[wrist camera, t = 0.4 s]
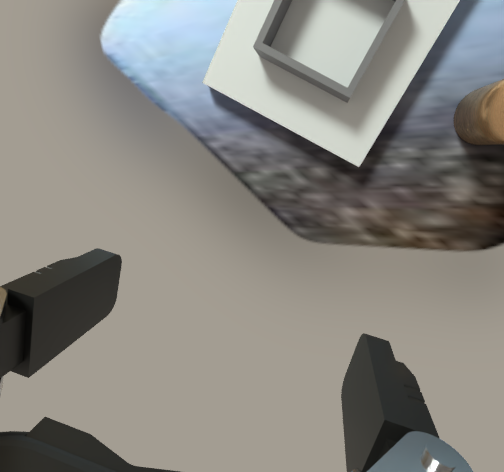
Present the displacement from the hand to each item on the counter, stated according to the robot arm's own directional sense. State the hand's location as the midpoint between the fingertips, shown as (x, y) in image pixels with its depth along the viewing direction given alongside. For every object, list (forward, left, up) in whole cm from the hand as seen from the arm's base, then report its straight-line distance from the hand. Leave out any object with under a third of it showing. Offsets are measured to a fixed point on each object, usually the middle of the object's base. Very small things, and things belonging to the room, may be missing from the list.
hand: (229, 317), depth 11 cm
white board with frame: (-15, -5, -27) cm, 31 cm away
